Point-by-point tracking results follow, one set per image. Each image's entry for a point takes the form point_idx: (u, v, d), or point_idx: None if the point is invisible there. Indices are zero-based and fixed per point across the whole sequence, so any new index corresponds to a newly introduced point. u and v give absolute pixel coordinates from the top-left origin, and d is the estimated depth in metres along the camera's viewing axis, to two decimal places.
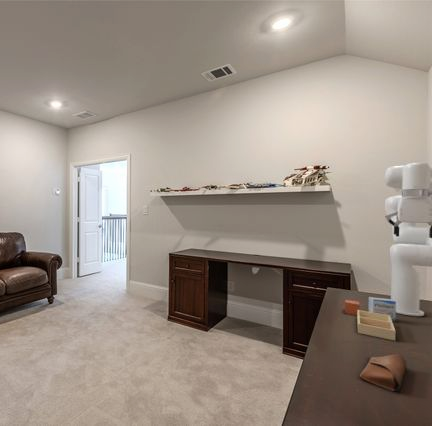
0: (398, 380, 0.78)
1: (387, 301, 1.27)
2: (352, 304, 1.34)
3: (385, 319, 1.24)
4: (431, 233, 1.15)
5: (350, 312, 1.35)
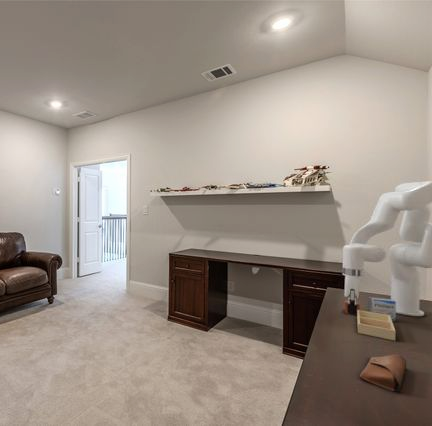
0: (398, 380, 0.78)
1: (387, 301, 1.27)
2: None
3: (385, 319, 1.24)
4: None
5: None
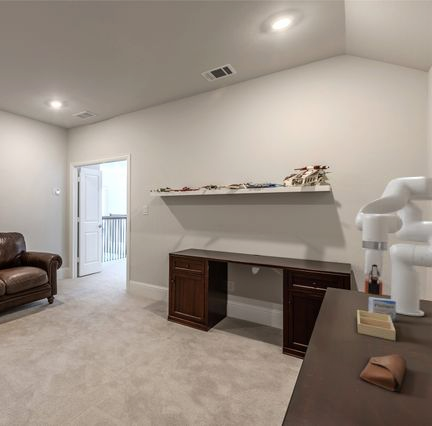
0: (398, 380, 0.78)
1: (387, 301, 1.27)
2: None
3: (385, 319, 1.24)
4: None
5: None
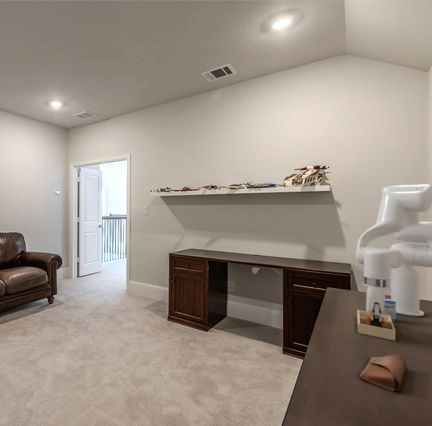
0: (398, 380, 0.78)
1: (387, 301, 1.27)
2: None
3: (385, 319, 1.24)
4: None
5: None
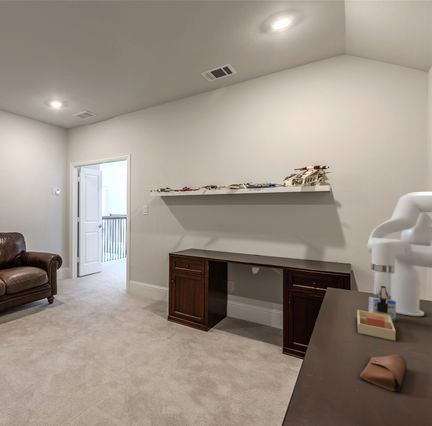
0: (398, 380, 0.78)
1: (387, 301, 1.27)
2: (376, 320, 1.13)
3: (385, 319, 1.24)
4: None
5: None
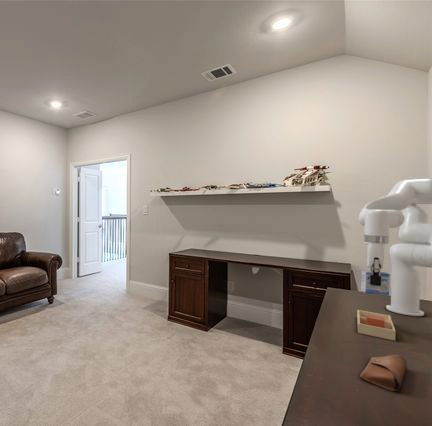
0: (399, 380, 0.78)
1: None
2: (376, 320, 1.13)
3: (385, 319, 1.24)
4: None
5: None
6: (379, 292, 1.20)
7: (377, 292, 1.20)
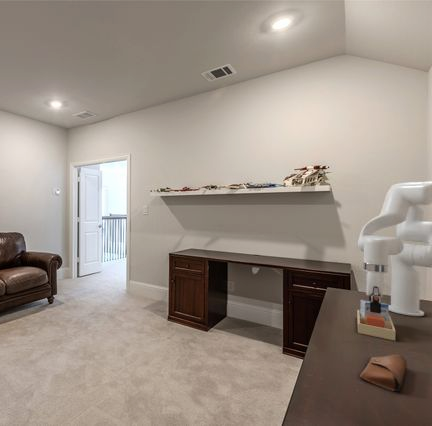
0: (399, 380, 0.78)
1: None
2: (376, 320, 1.13)
3: None
4: None
5: None
6: None
7: None
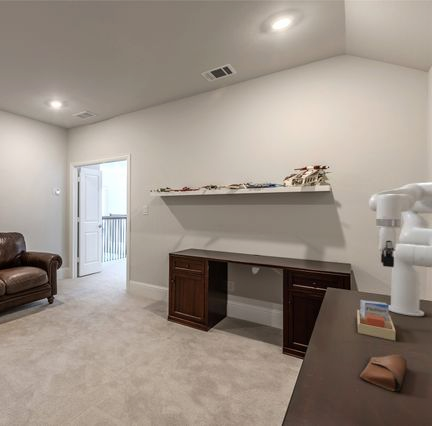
0: (399, 380, 0.78)
1: (379, 305, 1.20)
2: (376, 320, 1.13)
3: None
4: None
5: None
6: None
7: None
